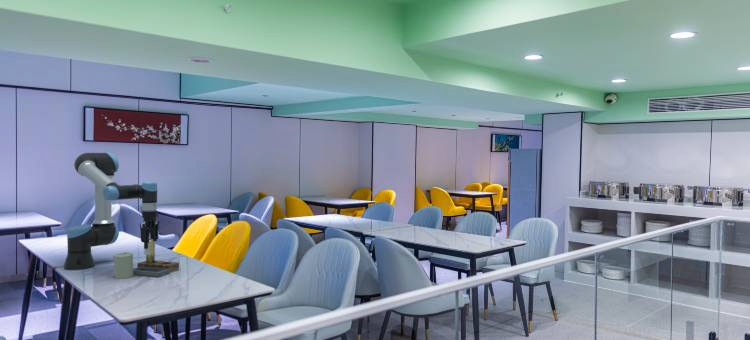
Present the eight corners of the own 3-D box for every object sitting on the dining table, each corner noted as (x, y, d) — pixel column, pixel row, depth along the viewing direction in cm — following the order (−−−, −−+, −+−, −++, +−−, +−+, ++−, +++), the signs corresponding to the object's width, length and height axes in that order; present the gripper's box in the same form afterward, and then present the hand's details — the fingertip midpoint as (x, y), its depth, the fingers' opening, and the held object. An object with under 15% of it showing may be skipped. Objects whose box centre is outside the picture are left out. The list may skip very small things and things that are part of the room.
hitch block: (137, 270, 292) (137, 263, 291) (148, 267, 300) (148, 260, 300) (168, 273, 287) (168, 265, 287) (178, 269, 295) (178, 262, 295)
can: (135, 273, 283) (134, 251, 282) (131, 277, 274) (130, 255, 273) (117, 274, 281) (116, 252, 280) (112, 278, 272) (111, 256, 271)
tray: (129, 274, 281) (129, 270, 281) (140, 271, 290) (140, 266, 290) (158, 277, 277) (158, 272, 277) (169, 273, 285) (169, 269, 285)
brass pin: (144, 263, 282) (144, 239, 281) (149, 262, 285) (149, 238, 285) (150, 264, 281) (150, 239, 280) (154, 262, 284) (154, 238, 284)
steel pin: (146, 269, 293) (146, 246, 293) (150, 268, 297) (150, 245, 296) (152, 270, 292) (152, 247, 292) (156, 268, 296) (156, 246, 295)
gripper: (145, 212, 273) (145, 257, 274) (165, 209, 289) (165, 251, 290) (132, 211, 275) (133, 256, 276) (153, 208, 291) (153, 250, 292)
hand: (149, 253), depth 283 cm, fingers closed on brass pin, 4 cm apart
